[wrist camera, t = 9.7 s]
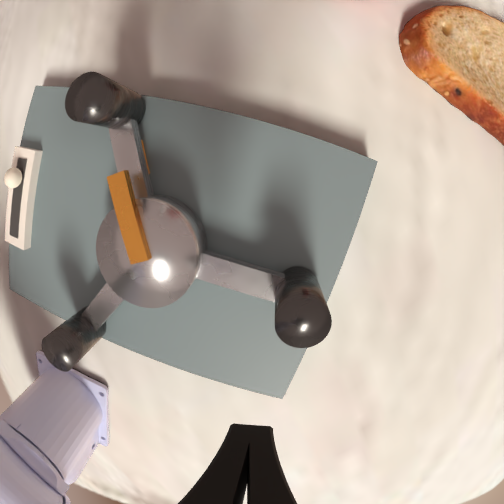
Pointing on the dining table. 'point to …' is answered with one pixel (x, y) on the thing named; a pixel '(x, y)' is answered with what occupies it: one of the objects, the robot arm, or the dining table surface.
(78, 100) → the capstan
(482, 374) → the dining table surface
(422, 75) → the slice of bread
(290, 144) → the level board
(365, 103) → the dining table surface
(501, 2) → the dining table surface
